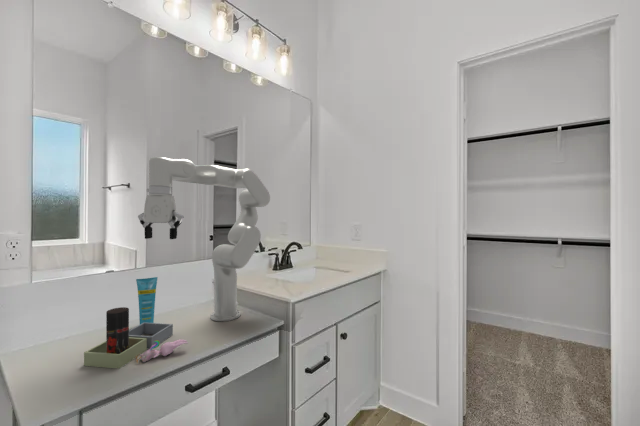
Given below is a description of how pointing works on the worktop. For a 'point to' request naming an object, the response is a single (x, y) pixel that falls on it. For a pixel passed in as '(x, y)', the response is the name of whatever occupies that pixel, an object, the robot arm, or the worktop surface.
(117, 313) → the deodorant
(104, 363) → the bin
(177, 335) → the worktop surface
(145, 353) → the pink toy figurine
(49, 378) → the worktop surface
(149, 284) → the tube
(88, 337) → the worktop surface
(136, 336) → the bin
